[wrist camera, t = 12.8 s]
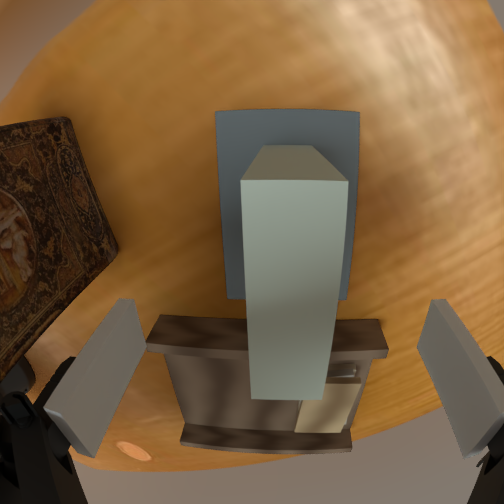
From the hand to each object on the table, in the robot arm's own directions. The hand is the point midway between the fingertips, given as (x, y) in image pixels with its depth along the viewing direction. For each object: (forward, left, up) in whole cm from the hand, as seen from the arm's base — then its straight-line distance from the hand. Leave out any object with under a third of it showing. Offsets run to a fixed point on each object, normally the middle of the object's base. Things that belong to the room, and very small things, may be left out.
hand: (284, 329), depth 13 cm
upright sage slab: (0, 0, -16) cm, 16 cm away
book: (-22, +3, -17) cm, 27 cm away
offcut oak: (+5, -22, -13) cm, 26 cm away
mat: (0, 0, -16) cm, 16 cm away
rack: (-2, -22, -16) cm, 27 cm away
